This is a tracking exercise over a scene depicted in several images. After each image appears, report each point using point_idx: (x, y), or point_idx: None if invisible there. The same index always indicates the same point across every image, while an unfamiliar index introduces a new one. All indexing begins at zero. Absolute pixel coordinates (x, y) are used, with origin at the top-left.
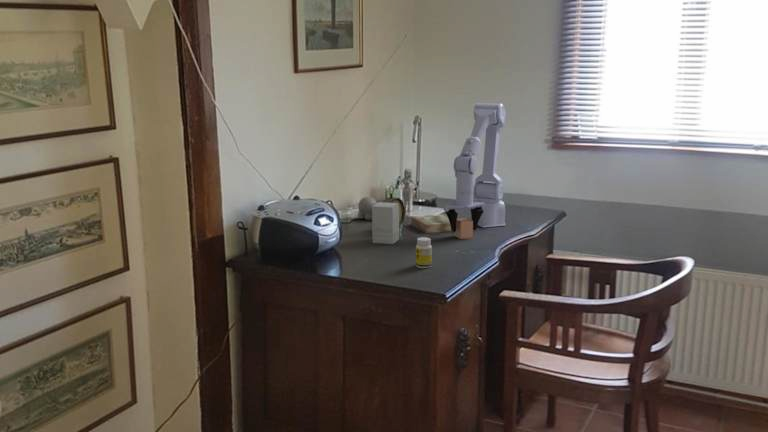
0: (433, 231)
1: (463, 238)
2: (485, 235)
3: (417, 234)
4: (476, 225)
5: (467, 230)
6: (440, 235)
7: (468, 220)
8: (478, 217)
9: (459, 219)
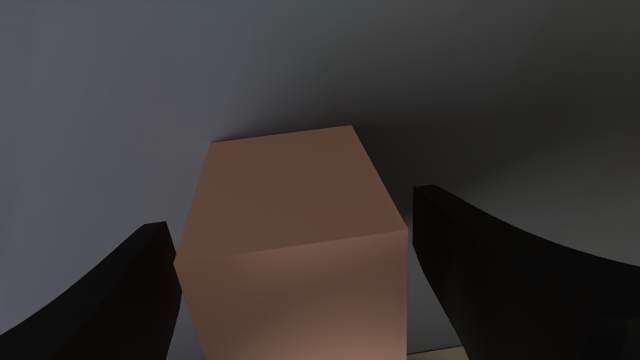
0: None
1: (320, 129)
2: (43, 206)
3: None
4: (122, 248)
5: (276, 174)
6: None
7: (248, 292)
8: (35, 332)
9: (361, 358)
